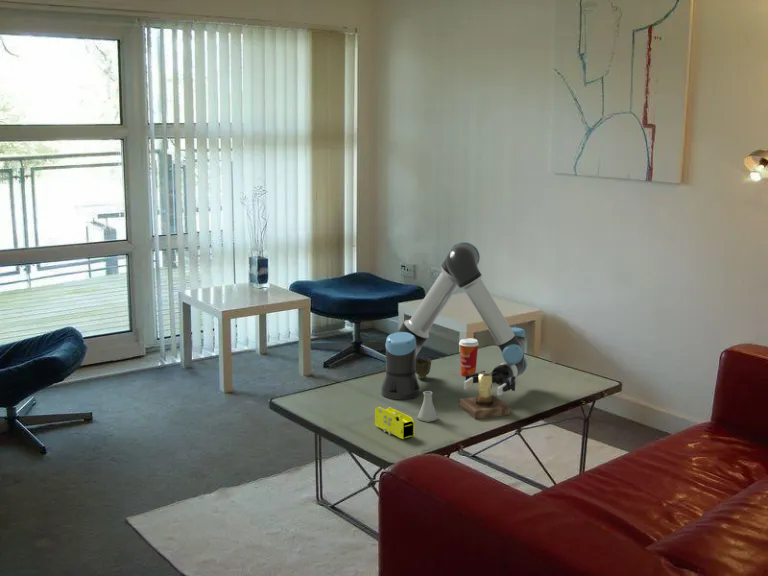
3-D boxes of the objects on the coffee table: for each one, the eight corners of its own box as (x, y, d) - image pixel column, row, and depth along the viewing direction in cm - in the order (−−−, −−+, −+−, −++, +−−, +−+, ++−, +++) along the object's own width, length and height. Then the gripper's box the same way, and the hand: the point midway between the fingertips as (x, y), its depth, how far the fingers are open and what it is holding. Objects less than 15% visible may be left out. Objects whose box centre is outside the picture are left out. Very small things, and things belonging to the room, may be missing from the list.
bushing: (481, 413, 311) (482, 377, 308) (475, 409, 316) (476, 373, 313) (493, 412, 313) (494, 375, 310) (487, 407, 317) (488, 371, 315)
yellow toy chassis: (373, 427, 298) (373, 405, 296) (386, 424, 301) (386, 401, 300) (401, 441, 285) (401, 418, 284) (414, 438, 289) (415, 414, 287)
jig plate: (475, 419, 306) (475, 411, 305) (459, 406, 319) (459, 398, 318) (509, 414, 310) (510, 407, 309) (493, 402, 323) (493, 394, 322)
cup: (432, 376, 354) (433, 358, 352) (429, 381, 347) (429, 363, 346) (415, 374, 356) (415, 356, 354) (411, 380, 349) (411, 361, 347)
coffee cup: (454, 373, 358) (455, 339, 355) (471, 370, 361) (472, 337, 358) (464, 379, 351) (465, 344, 348) (481, 376, 354) (482, 342, 351)
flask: (413, 418, 306) (413, 392, 304) (427, 413, 311) (427, 387, 309) (428, 423, 301) (428, 397, 299) (441, 418, 306) (442, 392, 304)
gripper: (534, 388, 322) (512, 404, 304) (475, 377, 334) (450, 392, 317) (535, 369, 320) (513, 384, 302) (475, 359, 333) (451, 373, 315)
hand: (481, 388), depth 310 cm, fingers open, 13 cm apart
